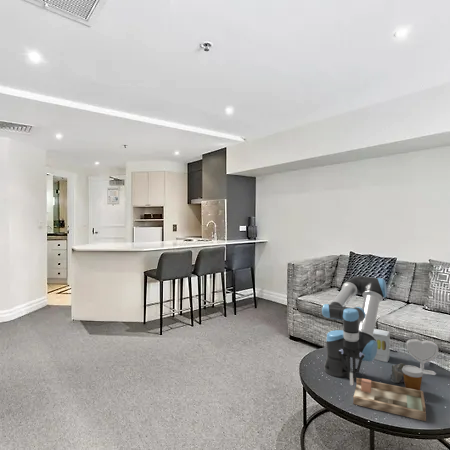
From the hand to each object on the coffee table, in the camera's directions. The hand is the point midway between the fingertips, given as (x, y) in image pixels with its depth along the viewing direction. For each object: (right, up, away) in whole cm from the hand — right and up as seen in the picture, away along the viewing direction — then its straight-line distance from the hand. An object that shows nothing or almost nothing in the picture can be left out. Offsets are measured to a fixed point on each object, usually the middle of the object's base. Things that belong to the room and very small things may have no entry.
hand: (351, 383), depth 166 cm
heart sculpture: (+49, -2, +19) cm, 52 cm away
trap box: (+13, -4, -11) cm, 18 cm away
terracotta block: (+6, -1, -3) cm, 7 cm away
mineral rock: (+32, -3, +9) cm, 34 cm away
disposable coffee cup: (+31, -3, -2) cm, 31 cm away
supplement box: (+33, -2, +37) cm, 50 cm away
